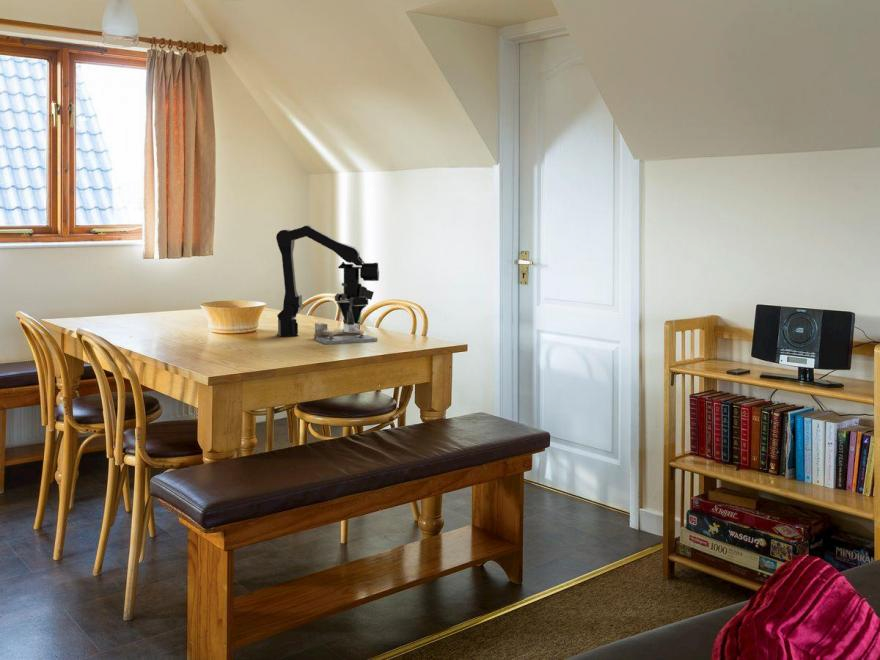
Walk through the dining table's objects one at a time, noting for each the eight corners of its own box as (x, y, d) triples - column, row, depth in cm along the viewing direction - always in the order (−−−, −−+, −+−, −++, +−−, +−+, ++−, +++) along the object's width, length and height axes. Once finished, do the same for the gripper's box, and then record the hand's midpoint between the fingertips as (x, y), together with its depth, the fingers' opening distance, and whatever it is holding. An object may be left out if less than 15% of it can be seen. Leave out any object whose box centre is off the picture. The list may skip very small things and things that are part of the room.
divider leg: (357, 336, 331) (357, 313, 330) (343, 331, 343) (343, 310, 342) (367, 335, 333) (367, 313, 332) (353, 331, 345) (353, 309, 344)
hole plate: (325, 344, 321) (325, 340, 321) (315, 340, 330) (315, 337, 330) (377, 341, 330) (377, 337, 330) (366, 337, 339) (366, 334, 339)
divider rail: (326, 342, 326) (326, 327, 325) (313, 337, 337) (313, 323, 337) (372, 339, 334) (372, 324, 334) (358, 335, 346) (358, 320, 345)
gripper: (381, 281, 335) (381, 324, 337) (361, 278, 351) (361, 318, 353) (353, 282, 329) (353, 325, 331) (334, 279, 346) (334, 319, 348)
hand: (351, 322), depth 341 cm, fingers open, 9 cm apart
